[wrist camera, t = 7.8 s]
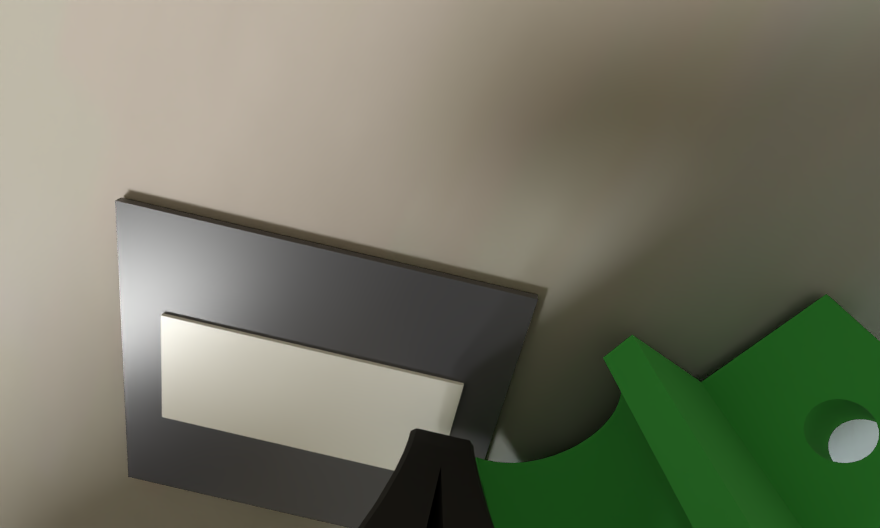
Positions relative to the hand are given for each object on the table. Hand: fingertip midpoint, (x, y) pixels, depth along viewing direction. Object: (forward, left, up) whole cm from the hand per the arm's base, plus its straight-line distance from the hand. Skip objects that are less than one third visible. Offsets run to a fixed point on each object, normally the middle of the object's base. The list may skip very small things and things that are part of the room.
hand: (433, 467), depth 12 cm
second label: (-3, 0, -1) cm, 3 cm away
